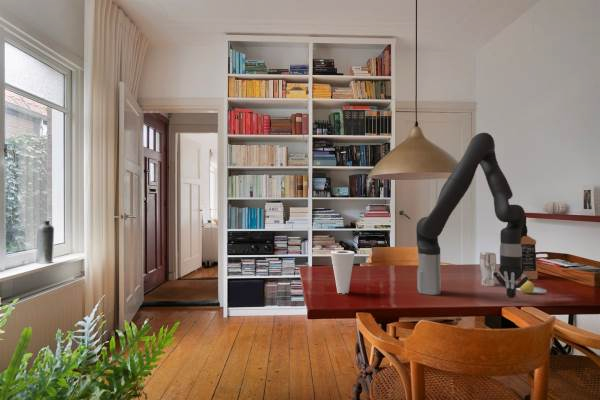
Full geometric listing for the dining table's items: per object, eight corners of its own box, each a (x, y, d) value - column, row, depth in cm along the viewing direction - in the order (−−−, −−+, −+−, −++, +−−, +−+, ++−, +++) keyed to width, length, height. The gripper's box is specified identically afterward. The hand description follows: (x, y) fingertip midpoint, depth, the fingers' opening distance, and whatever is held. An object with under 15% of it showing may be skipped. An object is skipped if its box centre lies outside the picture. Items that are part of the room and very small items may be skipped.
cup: (336, 296, 147) (335, 254, 147) (327, 290, 157) (327, 251, 157) (359, 294, 149) (358, 253, 149) (349, 288, 160) (348, 249, 160)
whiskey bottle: (507, 275, 185) (506, 215, 185) (526, 274, 185) (525, 215, 185) (519, 279, 175) (518, 216, 175) (538, 279, 174) (538, 216, 174)
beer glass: (479, 285, 164) (479, 253, 164) (479, 282, 170) (479, 251, 170) (496, 287, 160) (496, 254, 160) (496, 283, 166) (495, 252, 166)
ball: (522, 284, 147) (527, 275, 149) (514, 288, 151) (518, 280, 154) (534, 293, 145) (539, 284, 148) (526, 297, 150) (530, 288, 152)
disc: (523, 292, 150) (523, 292, 150) (510, 286, 162) (510, 285, 162) (553, 293, 148) (553, 293, 148) (537, 286, 160) (537, 286, 160)
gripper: (532, 255, 135) (533, 299, 135) (496, 251, 145) (496, 292, 145) (526, 257, 130) (527, 303, 130) (489, 253, 140) (489, 296, 140)
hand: (511, 297), depth 138 cm, fingers closed
